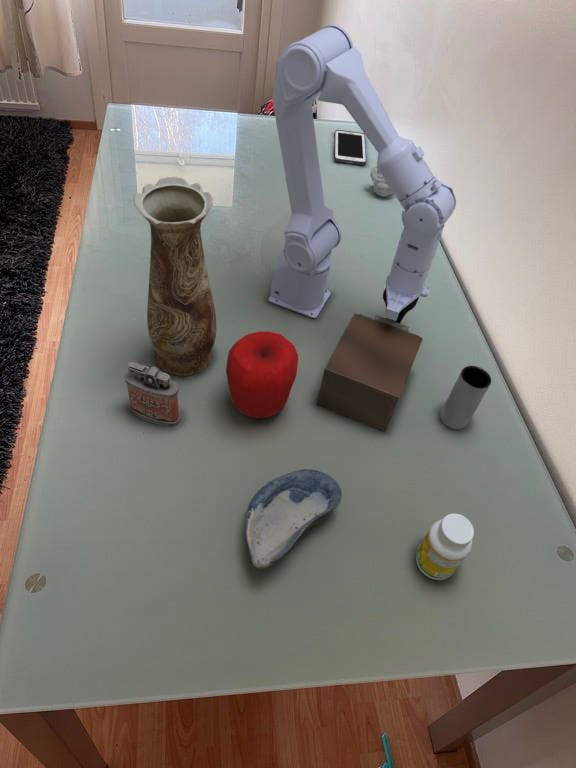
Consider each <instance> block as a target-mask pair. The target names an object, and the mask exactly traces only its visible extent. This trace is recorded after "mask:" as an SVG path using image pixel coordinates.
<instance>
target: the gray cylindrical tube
mask: <svg viewBox="0 0 576 768" xmlns="http://www.w3.org/2000/svg"><path fill="white" fill-rule="evenodd" d="M491 384H492V378H491V375H490V373H489V372H488V371H487V370H485V369H484V368H482V367H480V366H477V365H467V366H465V367H463V368H462V369H461V371H460V373H459V375H458V377H457V379H456V381H455V383H454V384H453V387H452V388H451V391H450V393H449V394H448V397H447V399H446V400H445V402H444V405H443V407H442V409H441V411H440V414H439V416H440V419H441V422H442V423H443V424H444V425H445V426H447V428H449V429H453V430H463V429H465V428H466V427H467V426H468V424H469V422H470V421H471V419H472V418H473V416H474V414H475V412H476V411H477V409H478V407H479V405H480V404H481V402H482V400H483V399H484V396H485V395H486V393H487V392H488V389H489V388H490V386H491Z"/></svg>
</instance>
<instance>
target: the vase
mask: <svg viewBox="0 0 576 768" xmlns="http://www.w3.org/2000/svg"><path fill="white" fill-rule="evenodd" d="M141 191H142V192H137V193H135V194H134V197H133V205H134V207H135V208H136V209H137V211H138V212H139V214H141V216H142V217H143V218H144V219H145V220H146V221H147V222H148V223H149V228H150V253H149V255H150V256H149V257H150V258H149V277H148V290H147V291H148V292H147V305H146V306H147V307H146V322H147V331H148V335H149V339H150V342H151V345H152V348H153V350H154V351H155V353H156V354H157V355H156V357H157V362H158V365H159V366H160V367H161V368H162V369H163V370H164V371H166V373H169V374H172V375H175V376H181V377H184V376H185V377H186V376H187V377H188V376H191V375H192V376H193V375H196V374H198V373H200V372H202V371H203V370H205V369H206V368H207V367H208V366H209V365H210V363H211V361H212V358H213V352H212V349H213V348H214V345H215V342H216V338H217V314H216V308H215V302H214V298H213V297H214V296H213V292H212V288H211V282H210V278H209V277H210V276H209V273H208V268H207V261H206V257H205V251H204V245H203V240H202V239H203V238H202V233H201V232H202V231H201V230H202V229H201V225H202V222H203V221H204V219H205V218H206V216H207V215H208V214H209V212H210V211H211V208H212V206H213V196H212V194H211V193H210V192H209V191H204V190H203V187H202V185H201V184H200V183H199V182H195V183H192V184H189V182H187V180H186V179H185V178H182V177H179V176H164V177H160V178H159V179H158V180H157V182H156V183H155V184H152V183H145V184H144V186H143V187H142V190H141Z"/></svg>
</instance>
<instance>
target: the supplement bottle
mask: <svg viewBox="0 0 576 768" xmlns="http://www.w3.org/2000/svg"><path fill="white" fill-rule="evenodd" d="M474 536H475V528H474V525H473V524H472V522H471V521H470V520H469V519H468V518H467V517H466V516H464V515H462V514H460V513H449V514H447V515H445V516H444V517H443V518H442V519H438V520H436V521H435V522H434V523H433V524H432V525H431V527H430V528H429V530H428V531H427V533H426V534H425V536H424V538H423V539H422V540H421V542H420V544H419V545H418V547H417V549H416V550H415V551H416V552H415V560H416V561H415V562H416V565H417V567H418V570H419V571H420V572H421V573H422V574H424V576H425V577H427V578H429V579H431V580H436V581H443V580H446V579H448V578H450V577H451V576H452V575H453V574H454V573H455V571H456V570H457V569H458V568H459V566H460V565H461V564H462V563H463V561H464V560H465V559H466V558H467V556H468V555H469V554H470V552H471V550H472V546H473V542H472V541H473V539H474Z"/></svg>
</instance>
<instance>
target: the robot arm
mask: <svg viewBox="0 0 576 768" xmlns="http://www.w3.org/2000/svg"><path fill="white" fill-rule="evenodd" d="M362 56H363V55H362V53H361V52H360V51H359V49H358V48H357V47H356V46H354V43H353V40H352V38H351V36H350V34H349V33H348V31H346V30H345V29H344V28H343V27H342V26H340V25H337V24H327V25H324V26H322V27H321V28H320V29H319V30H317V31H316V32H314V33H312V34H310V35H308V36H306V37H304V38H303V39H301V40H298V41H295V42H293V43H291V44H290V45H288V46H287V47H286V48H285V50H284V51H282V53H281V54H280V56H279V57H278V58H277V59H276V61H275V68H276V77H275V82H274V86H273V90H272V95H271V99H272V106H273V112H274V119H275V123H276V124H275V125H276V131H277V135H278V141H279V147H280V153H281V158H282V164H283V165H282V166H283V171H284V177H285V181H286V188H287V194H288V199H289V205H290V211H291V213H290V216H289V219H288V222H287V224H286V227H285V229H284V238H285V241H284V246H283V249H282V250H281V251H280V252H279V254H278V255H277V257H276V260H275V262H274V266H273V269H272V276H271V286H270V296H268V297H269V298H268V302H269V303H271V304H273V305H277V306H280V307H282V308H285V309H288V310H290V311H293V312H295V313H298V314H301V315H304V316H306V317H309V318H312V319H317V318H318V316H319V315H320V313H321V312H322V309H323V308H324V306H325V304H326V303H327V301H328V300H329V298H330V297H331V295H332V292H331V290H328V289H326V288H327V283H328V277H329V273H330V269H331V262H332V252H333V250H334V249H335V248H337V246H339V244H341V240H342V231H341V229H340V227H339V225H338V223H337V221H336V219H335V214H334V213H335V212H334V210H333V208H331V207H329V206H326V204H325V197H324V190H323V188H324V187H323V182H322V174H321V167H320V159H319V153H318V145H317V144H318V143H317V135H316V129H315V128H316V127H315V122H314V115H313V114H314V113H313V103H314V102H315V100H316V99H317V101H319V102H322V103H323V102H324V103H329V104H330V103H331V104H337V105H342V106H343V107H344V108H345V109H346V111H347V112H348V113H349V115H350V116H351V117H352V119H353V121H355V123H356V124H357V126H358V127H359V129H360V130H361V131H362V133H364V134H365V138H367V139H368V141H369V143H370V144H371V145H372V146H373V147H374V149H375V150H376V152H377V162H376V167H377V168H378V169H379V171H380V172H381V174H382V176H383V177H384V179H385V180H386V182H387V183H388V185H389V187H390V188H391V190H392V191H393V193H392V194H394V196H395V198H396V200H397V201H398V202H399V204H400V205H401V207H402V208H403V210H402V212H401V222H402V225H403V229H402V231H401V234H400V238H399V241H398V244H397V248H396V251H395V254H394V257H393V261H392V264H391V268H390V271H389V273H388V275H387V277H386V280H385V288H384V290H383V293H382V300H383V302H384V304H385V305H384V306H385V311H384V315H383V317H384V318H386V319H389V320H392V321H395V322H397V323H400V324H401V322H402V321H403V319H404V318H405V316H406V315H407V313H409V312H410V311H412V310H414V308H415V307H416V306H417V304H418V302H419V299H420V297H422V298H427V297H428V296H429V293H430V291H431V288H430V287H429V286H427V285H425V283H426V280H427V277H428V275H429V272H430V269H431V266H432V263H433V261H434V258H435V256H436V252H437V250H438V247H439V245H440V241H441V237H442V235H443V231H444V228H445V224H446V222H447V221H448V220H449V219H450V218H451V216H452V215H453V213H454V211H455V210H456V207H457V199H456V195H455V193H454V189H453V187H451V186H450V185H449V184H448V183H446V182H443V181H441V180H439V179H438V178H437V176H435V175H434V174H433V172H432V171H431V169H430V167H429V166H428V164H427V163H426V160H425V159H424V156H425V152H424V151H423V149H422V147H421V146H416V145H415V143H414V140H412V139H408V138H404V137H402V136H400V135H399V132H397V129H396V128H395V126H394V124H393V122H392V120H391V118H390V117H389V115H388V113H387V110H386V109H385V107H384V105H383V104H382V102H381V99H380V97H379V96H378V94H377V92H376V90H375V88H374V86H373V84H372V83H371V81H370V79H369V77H368V75H367V73H366V70H365V69H366V68H365V65H364V61H363V57H362Z"/></svg>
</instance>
